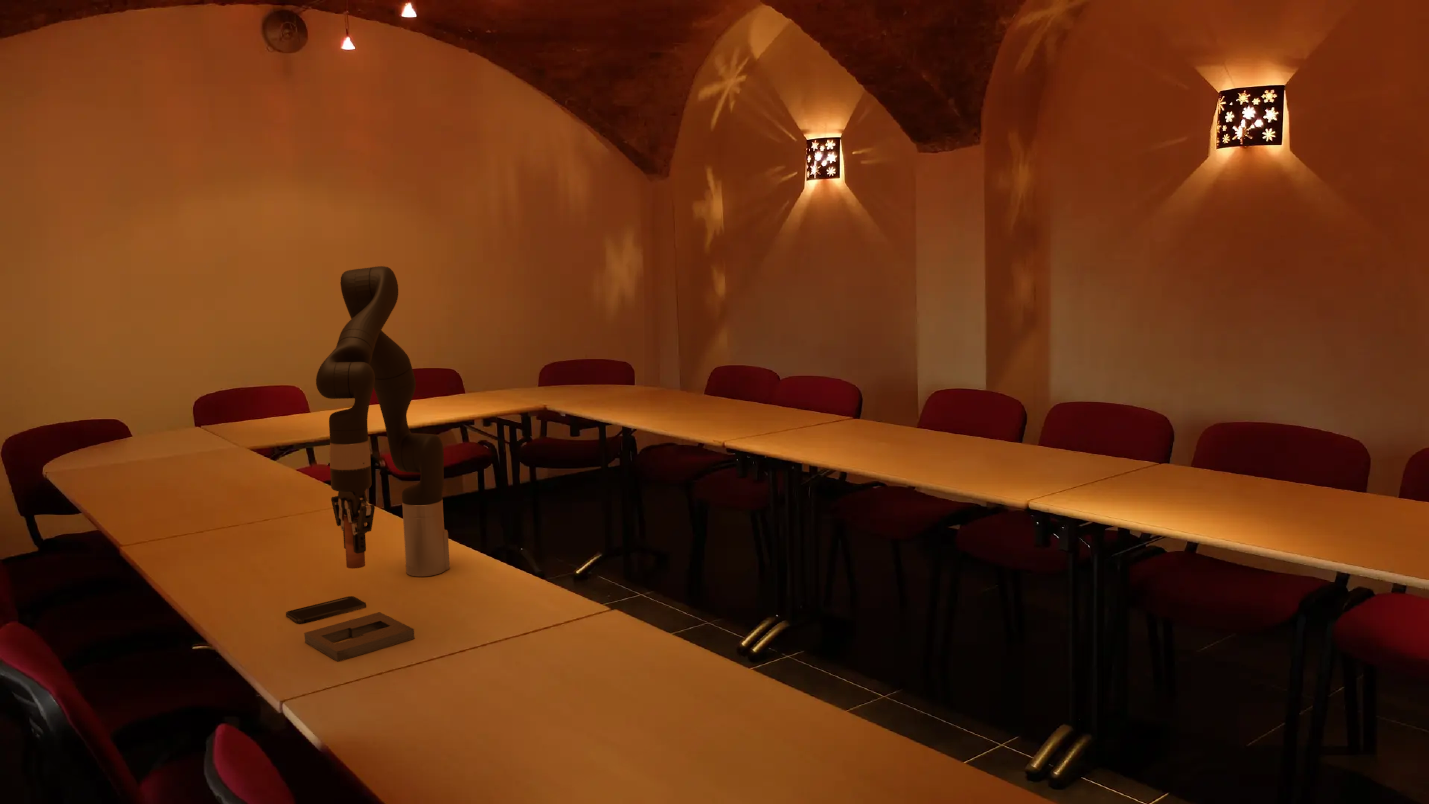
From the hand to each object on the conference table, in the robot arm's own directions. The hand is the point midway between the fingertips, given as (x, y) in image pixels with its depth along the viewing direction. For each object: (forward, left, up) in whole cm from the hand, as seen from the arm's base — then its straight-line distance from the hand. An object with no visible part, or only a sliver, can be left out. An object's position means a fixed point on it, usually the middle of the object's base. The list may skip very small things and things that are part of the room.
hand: (355, 550), depth 210 cm
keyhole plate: (+1, +1, -18) cm, 18 cm away
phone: (-2, -20, -19) cm, 27 cm away
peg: (0, 0, -3) cm, 3 cm away
